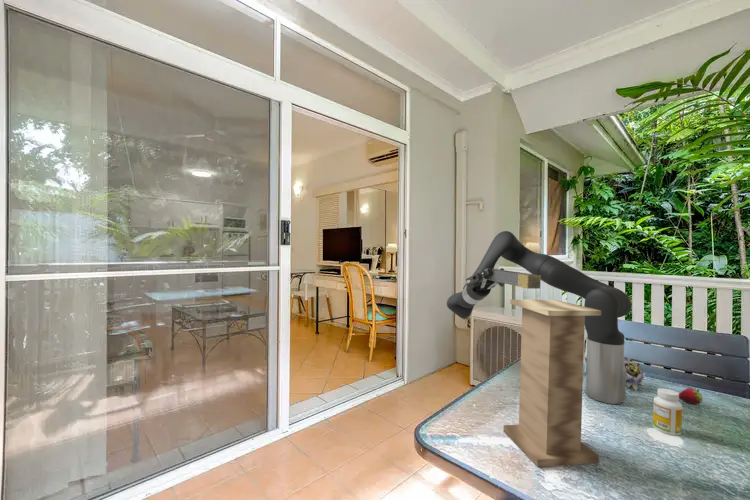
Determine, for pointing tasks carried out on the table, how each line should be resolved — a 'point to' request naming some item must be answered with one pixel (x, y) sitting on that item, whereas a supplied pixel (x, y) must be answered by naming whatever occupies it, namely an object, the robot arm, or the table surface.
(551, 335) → the walnut stand
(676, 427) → the supplement bottle
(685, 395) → the fruit
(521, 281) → the steel block
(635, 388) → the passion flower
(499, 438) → the table surface
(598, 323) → the robot arm
